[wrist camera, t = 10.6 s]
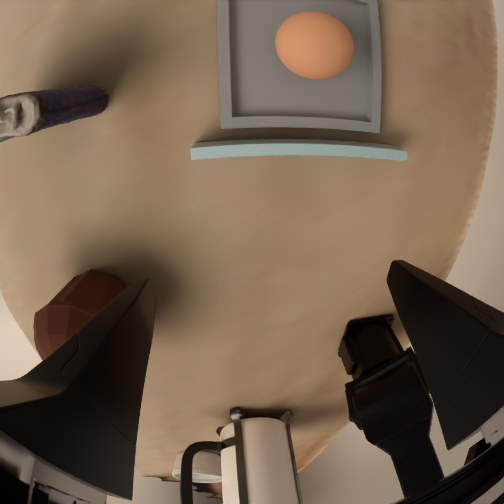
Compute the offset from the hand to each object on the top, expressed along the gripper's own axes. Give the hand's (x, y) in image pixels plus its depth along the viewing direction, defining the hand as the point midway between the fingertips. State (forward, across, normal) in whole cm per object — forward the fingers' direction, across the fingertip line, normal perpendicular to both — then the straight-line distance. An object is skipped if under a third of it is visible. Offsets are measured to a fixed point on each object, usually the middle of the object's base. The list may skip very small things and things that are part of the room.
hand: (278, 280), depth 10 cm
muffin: (+13, +16, +12) cm, 24 cm away
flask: (+13, +15, -8) cm, 22 cm away
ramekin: (+13, +15, +66) cm, 69 cm away
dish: (+13, -4, -10) cm, 17 cm away
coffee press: (+13, +2, +42) cm, 44 cm away
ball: (+10, -4, -10) cm, 15 cm away
